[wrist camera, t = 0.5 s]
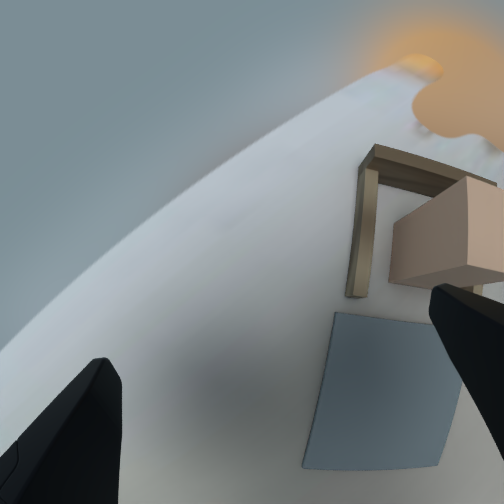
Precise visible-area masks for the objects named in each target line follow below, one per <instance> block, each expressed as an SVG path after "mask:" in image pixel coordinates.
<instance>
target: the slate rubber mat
mask: <svg viewBox="0 0 504 504" xmlns="http://www.w3.org/2000/svg"><path fill="white" fill-rule="evenodd" d="M461 385H462V379H461V377H460V375H459V374H458V372H457V370H456V369H455V367H454V365H453V363H452V362H451V360H450V358H449V356H448V354H447V352H446V350H445V348H444V346H443V343H442V341H441V339H440V337H439V335H438V333H437V331H436V329H435V327H434V325H428V324H420V323H411V322H403V321H395V320H388V319H380V318H373V317H365V316H358V315H351V314H344V313H338V312H335V316H334V322H333V328H332V334H331V339H330V345H329V350H328V355H327V360H326V365H325V370H324V375H323V380H322V385H321V389H320V394H319V398H318V403H317V407H316V411H315V416H314V420H313V424H312V428H311V432H310V436H309V440H308V444H307V448H306V451H305V455H304V459H303V463H302V468H304V469H320V470H392V469H407V468H419V467H429V466H437V465H438V463H439V460H440V457H441V454H442V452H443V449H444V446H445V443H446V440H447V436H448V433H449V430H450V427H451V423H452V420H453V416H454V413H455V409H456V405H457V401H458V397H459V393H460V389H461Z"/></svg>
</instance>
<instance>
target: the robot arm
mask: <svg viewBox="0 0 504 504" xmlns="http://www.w3.org/2000/svg"><path fill="white" fill-rule="evenodd" d="M429 316H430V319H431V321H432V323H433V325H434V327H435V329H436V331H437V333H438V335H439V337H440V339H441V341H442V343H443V346H444V348H445V350H446V352H447V354H448V356H449V358H450V360H451V362H452V363H453V365H454V367H455V369H456V370H457V372H458V374H459V375H460V377H461V379H462V381H463V382H464V384H465V386H466V388H467V389H468V391H469V393H470V395H471V397H472V398H473V400H474V402H475V404H476V406H477V408H478V410H479V411H480V413H481V415H482V417H483V419H484V421H485V423H486V425H487V427H488V429H489V431H490V433H491V435H492V437H493V439H494V441H495V443H496V445H497V447H498V449H499V452H500V454H501V456H502V458H503V460H504V304H502V303H500V302H497V301H494V300H492V299H489V298H486V297H483V296H481V295H478V294H475V293H473V292H470V291H467V290H464V289H462V288H459V287H456V286H453V285H450V284H448V283H443V284H440V285H436V286H434V287H433V289H432V292H431V299H430V305H429ZM121 441H122V382H121V379H120V377H119V375H118V373H117V372H116V370H115V368H114V367H113V365H112V363H111V362H110V360H109V359H108V358H105V357H104V358H95V359H93V360H92V361H91V362H90V363H89V364H88V365H87V366H86V367H85V368H84V369H83V370H82V371H81V372H80V373H79V374H78V375H77V376H76V377H75V378H74V379H73V380H72V381H71V382H70V383H69V384H68V385H67V386H66V387H65V389H64V390H63V391H62V392H61V393H60V394H59V395H58V396H57V397H56V398H55V399H54V400H53V401H52V402H51V403H50V404H49V405H48V406H47V407H46V408H45V410H44V411H43V412H42V413H41V414H40V415H39V416H38V417H37V418H36V419H35V420H34V421H33V422H32V423H31V425H30V426H29V427H28V428H27V429H26V430H25V431H24V432H23V433H22V434H21V435H20V436H19V438H18V439H17V440H16V441H15V442H14V443H13V444H12V445H11V446H10V447H9V449H8V450H7V451H6V452H5V453H4V454H3V455H2V456H1V457H0V504H118V489H119V469H120V454H121Z"/></svg>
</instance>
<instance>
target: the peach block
mask: <svg viewBox="0 0 504 504" xmlns="http://www.w3.org/2000/svg"><path fill="white" fill-rule="evenodd" d="M502 281H504V190H503V189H500V188H498V187H495V186H493V185H490V184H488V183H485V182H482V181H480V180H477V179H474V178H471V177H469V176H465V177H464V178H462V179H461V180H459V181H458V182H456V183H455V184H454V185H452V186H451V187H449V188H448V189H446V190H445V191H443V192H442V193H440V194H439V195H437V196H436V197H434V198H433V199H431V200H430V201H428V202H427V203H425V204H424V205H422V206H420V207H419V208H417V209H416V210H414V211H413V212H411V213H410V214H408V215H407V216H405V217H404V218H402V219H400V220H399V221H397V222H396V223H394V229H393V242H392V254H391V264H390V273H389V282H390V283H395V284H401V285H407V286H413V287H419V288H425V289H431V290H432V289H433V287H434V286H436V285H440V284H443V283H448V284H450V285H453V286H456V287H459V288H461V287H468V286H475V285H482V284H489V283H495V282H502Z"/></svg>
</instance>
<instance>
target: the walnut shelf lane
mask: <svg viewBox="0 0 504 504" xmlns="http://www.w3.org/2000/svg"><path fill="white" fill-rule="evenodd" d="M465 176H469V177H471V178H474V179H477V180H480V181H482V182H485V183H488V184H490V185H493V186H495V187H497V183H495V182H493V181H490V180H488V179H485V178H483V177H480V176H477V175H475V174H472V173H469V172H466V171H464V170H461V169H458V168H455V167H452V166H449V165H446V164H443V163H440V162H437V161H434V160H431V159H428V158H424V157H421V156H418V155H414V154H411V153H408V152H404V151H401V150H397V149H394V148H390V147H386V146H382V145H379V144H374V146H373V147H372V149H371V150H370V151H369V153H368V154H367V156H366V157H365V159H364V160H363V161H362V163H361V164H360V166H359V169H358V183H357V196H356V208H355V218H354V228H353V237H352V246H351V255H350V263H349V270H348V278H347V285H346V292H345V296H346V297H353V298H366V297H367V294H368V287H369V279H370V271H371V263H372V254H373V244H374V233H375V222H376V208H377V192H378V183H380V184H384V185H388V186H392V187H396V188H400V189H404V190H408V191H411V192H415V193H419V194H423V195H426V196H430V197H433V198H434V197H436V196H437V195H439V194H440V193H442V192H443V191H445V190H446V189H448V188H449V187H451V186H452V185H454V184H455V183H456V182H458V181H459V180H461V179H462V178H464V177H465ZM461 288H462V289H464V290H467V291H470V292H473V293H475V294H478V295H481V296H482V290H483V284H482V285H475V286H468V287H461Z"/></svg>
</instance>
